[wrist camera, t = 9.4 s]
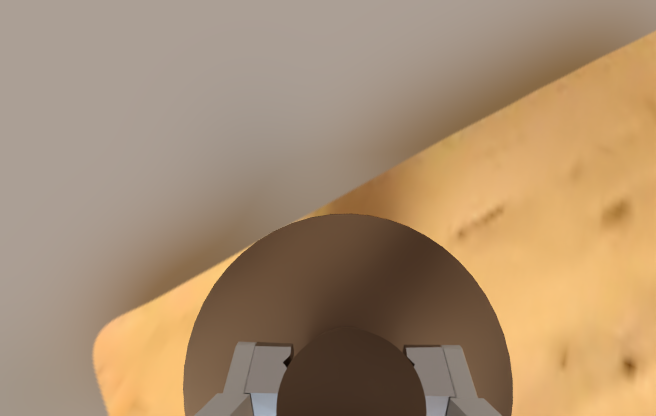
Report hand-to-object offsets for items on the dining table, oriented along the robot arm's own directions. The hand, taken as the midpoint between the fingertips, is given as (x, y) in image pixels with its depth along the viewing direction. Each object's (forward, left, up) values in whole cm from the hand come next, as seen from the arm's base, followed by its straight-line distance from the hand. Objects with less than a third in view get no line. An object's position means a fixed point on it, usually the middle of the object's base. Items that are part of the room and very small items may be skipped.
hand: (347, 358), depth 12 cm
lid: (0, +1, -4) cm, 4 cm away
